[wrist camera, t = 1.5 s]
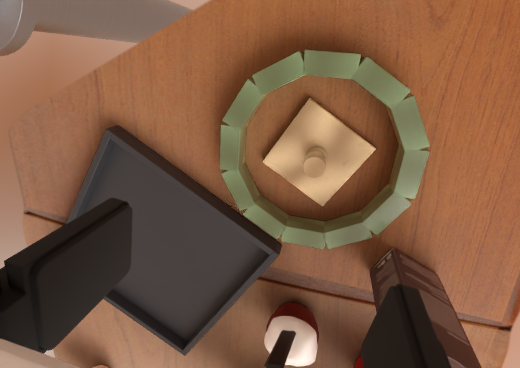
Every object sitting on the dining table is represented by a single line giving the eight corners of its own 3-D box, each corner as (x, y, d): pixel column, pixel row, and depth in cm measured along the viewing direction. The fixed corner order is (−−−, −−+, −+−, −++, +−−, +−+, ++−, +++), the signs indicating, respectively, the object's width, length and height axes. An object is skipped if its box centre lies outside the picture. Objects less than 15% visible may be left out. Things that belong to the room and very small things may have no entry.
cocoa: (307, 344, 40) (298, 447, 29) (263, 327, 41) (239, 422, 30) (332, 292, 36) (332, 389, 26) (283, 274, 37) (262, 361, 26)
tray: (61, 252, 44) (49, 261, 42) (118, 124, 35) (105, 128, 33) (190, 344, 45) (184, 356, 43) (282, 244, 36) (279, 255, 34)
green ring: (197, 167, 34) (188, 174, 32) (299, 6, 26) (295, 0, 24) (329, 264, 35) (329, 278, 33) (466, 136, 27) (479, 143, 25)
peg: (263, 159, 32) (253, 173, 28) (309, 97, 29) (306, 102, 25) (322, 203, 33) (321, 224, 28) (375, 147, 29) (382, 160, 25)
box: (366, 272, 34) (383, 369, 23) (393, 245, 32) (423, 337, 22) (411, 300, 34) (448, 409, 23) (440, 275, 33) (495, 381, 22)
